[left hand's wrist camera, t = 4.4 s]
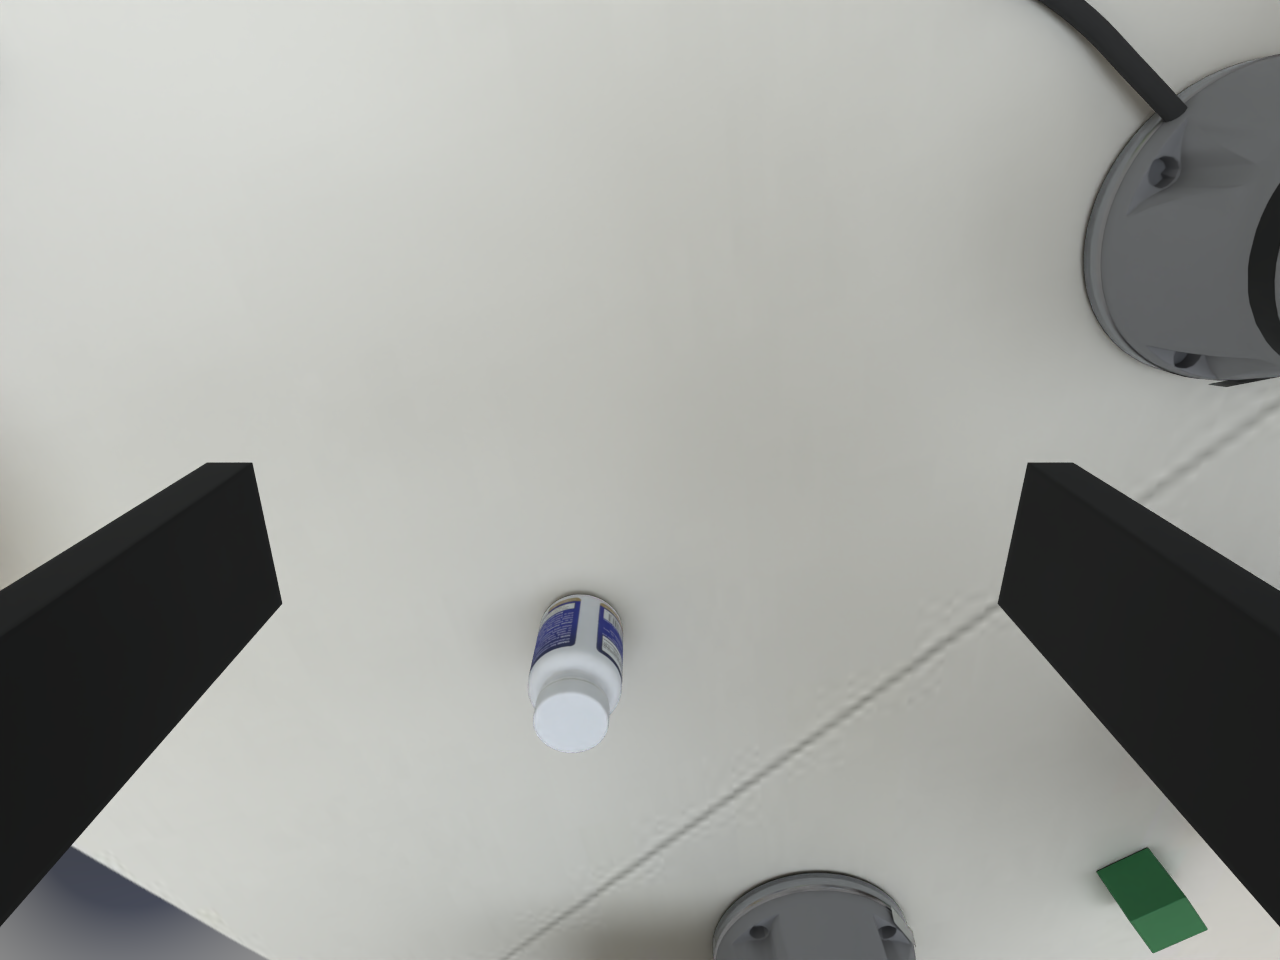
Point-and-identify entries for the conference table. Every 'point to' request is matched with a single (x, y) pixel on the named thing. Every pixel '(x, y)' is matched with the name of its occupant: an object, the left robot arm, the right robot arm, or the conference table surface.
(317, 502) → the conference table surface
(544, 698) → the pill bottle
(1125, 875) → the block
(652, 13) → the conference table surface
